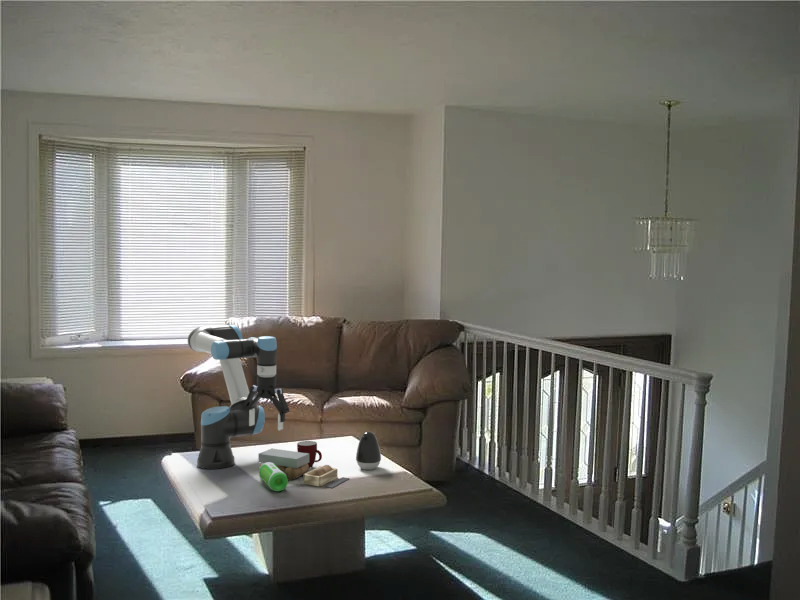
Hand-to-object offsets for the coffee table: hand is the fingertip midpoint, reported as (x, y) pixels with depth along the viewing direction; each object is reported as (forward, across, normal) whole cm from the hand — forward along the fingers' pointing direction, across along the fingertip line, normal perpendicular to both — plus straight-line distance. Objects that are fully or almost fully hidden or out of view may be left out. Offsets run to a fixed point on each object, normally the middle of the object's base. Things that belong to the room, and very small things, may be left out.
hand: (266, 427), depth 296 cm
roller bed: (+18, +10, -2) cm, 20 cm away
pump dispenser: (+17, +36, +20) cm, 45 cm away
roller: (+17, +26, -2) cm, 32 cm away
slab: (+12, +10, -1) cm, 16 cm away
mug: (+18, +14, +12) cm, 26 cm away
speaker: (+17, +13, -15) cm, 27 cm away
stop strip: (+16, +34, -2) cm, 38 cm away
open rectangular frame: (+17, +27, -2) cm, 32 cm away
